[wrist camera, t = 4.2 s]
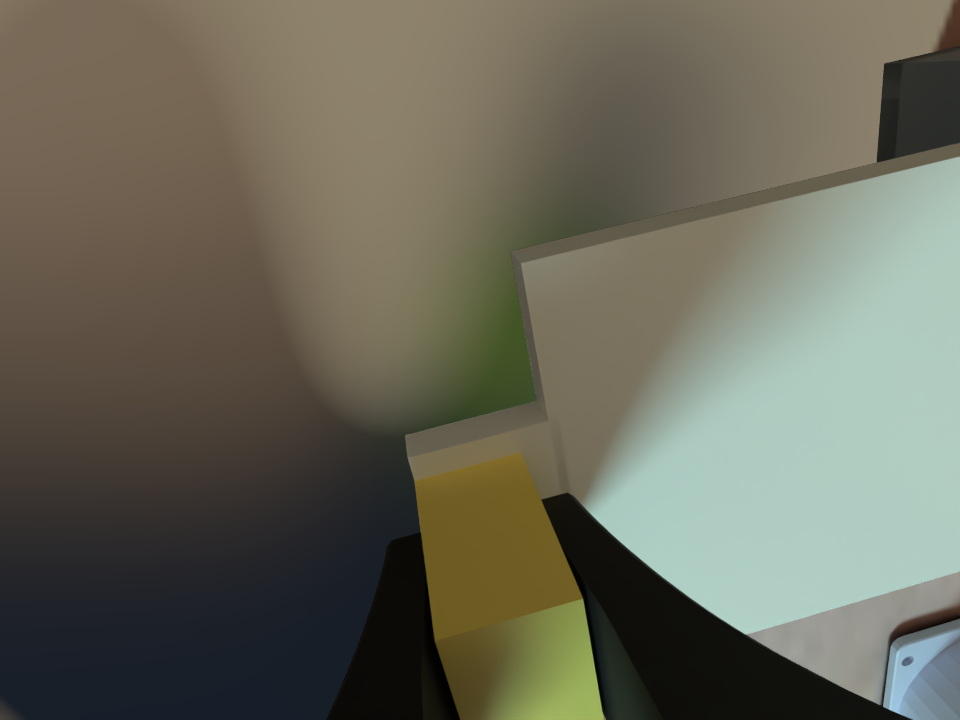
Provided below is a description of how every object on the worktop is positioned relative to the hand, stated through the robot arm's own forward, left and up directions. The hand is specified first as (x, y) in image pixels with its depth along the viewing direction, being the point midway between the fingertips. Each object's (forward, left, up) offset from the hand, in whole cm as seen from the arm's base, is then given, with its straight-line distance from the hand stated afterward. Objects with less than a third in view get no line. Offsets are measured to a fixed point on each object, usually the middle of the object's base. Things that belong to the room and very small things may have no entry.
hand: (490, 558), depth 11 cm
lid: (0, -7, -2) cm, 7 cm away
